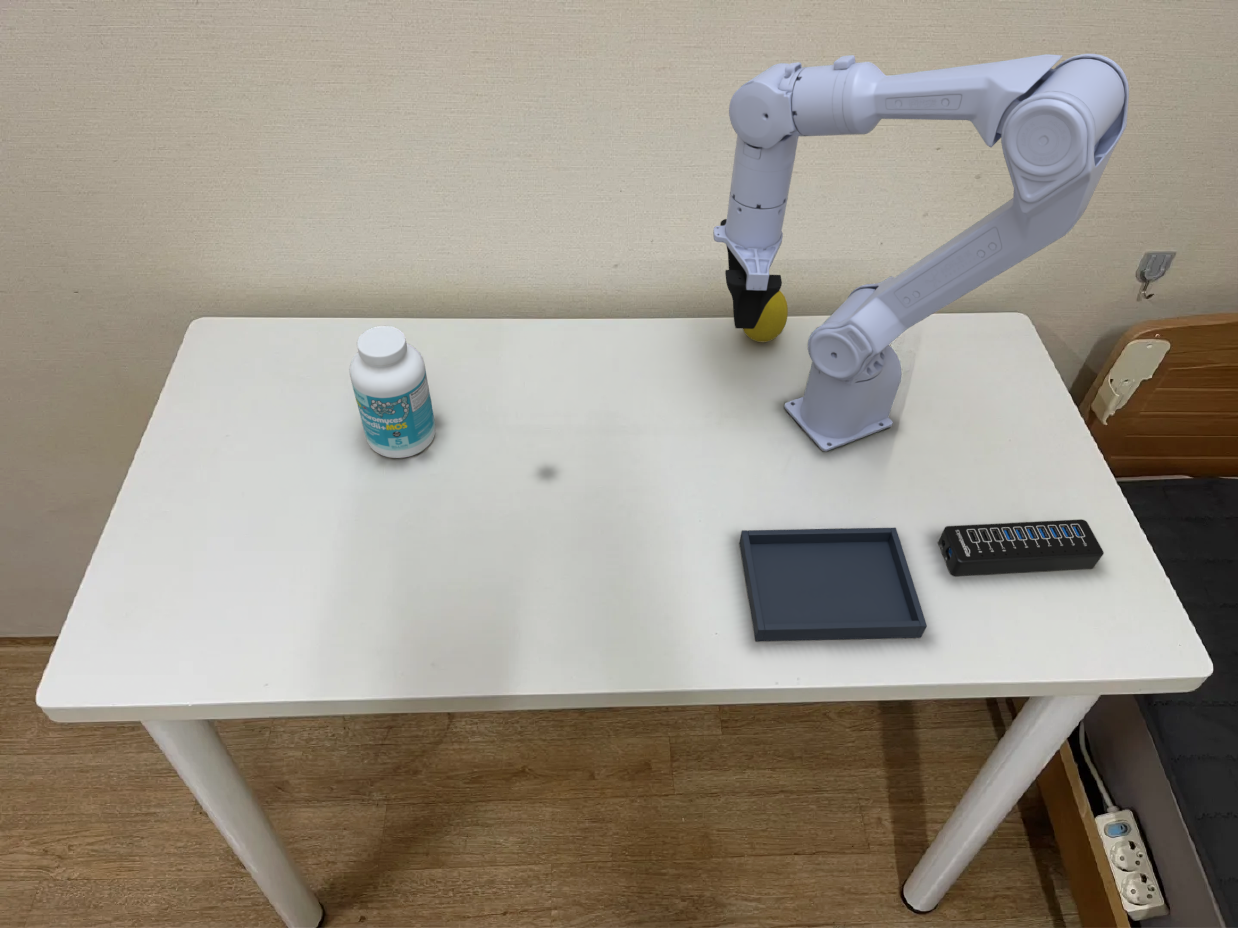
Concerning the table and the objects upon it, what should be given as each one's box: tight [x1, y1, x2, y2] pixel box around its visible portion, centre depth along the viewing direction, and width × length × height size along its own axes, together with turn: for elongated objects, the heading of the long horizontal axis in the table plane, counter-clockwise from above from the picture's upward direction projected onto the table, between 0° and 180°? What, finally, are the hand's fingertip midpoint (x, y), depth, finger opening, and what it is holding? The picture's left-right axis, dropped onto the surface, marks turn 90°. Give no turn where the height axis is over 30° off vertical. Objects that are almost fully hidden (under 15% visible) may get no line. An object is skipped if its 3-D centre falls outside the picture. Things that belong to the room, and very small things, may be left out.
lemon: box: [742, 289, 789, 343], centre depth 105 cm, size 6×6×8 cm
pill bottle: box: [348, 325, 436, 459], centre depth 91 cm, size 8×7×14 cm
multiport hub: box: [937, 519, 1105, 577], centre depth 86 cm, size 4×14×2 cm, turn 95°
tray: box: [738, 527, 928, 643], centre depth 83 cm, size 15×11×2 cm
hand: (741, 304), depth 98 cm, fingers open, 7 cm apart
